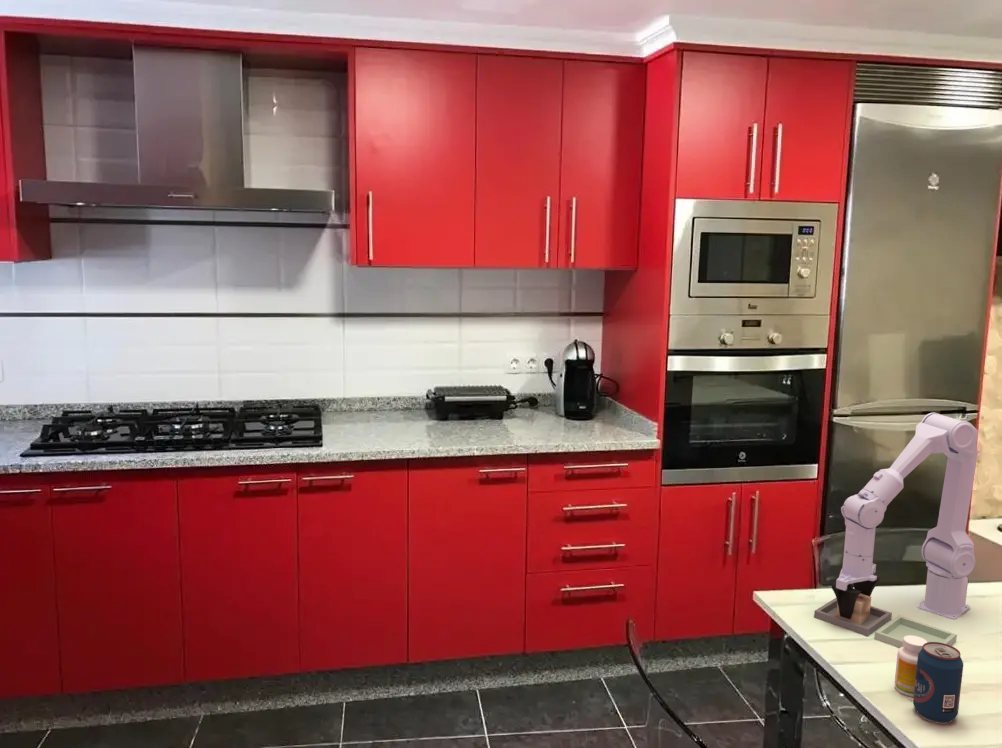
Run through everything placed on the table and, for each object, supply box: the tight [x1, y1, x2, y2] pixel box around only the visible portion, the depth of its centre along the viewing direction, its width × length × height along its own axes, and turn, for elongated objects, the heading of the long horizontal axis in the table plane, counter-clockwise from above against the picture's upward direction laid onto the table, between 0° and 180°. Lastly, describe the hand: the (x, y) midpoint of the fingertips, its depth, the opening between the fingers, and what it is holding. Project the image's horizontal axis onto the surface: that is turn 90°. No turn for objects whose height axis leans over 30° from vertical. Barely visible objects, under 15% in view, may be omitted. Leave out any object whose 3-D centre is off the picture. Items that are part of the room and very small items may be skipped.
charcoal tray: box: [813, 597, 893, 638], centre depth 181 cm, size 12×12×2 cm
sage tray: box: [873, 614, 958, 649], centre depth 172 cm, size 12×12×2 cm
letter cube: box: [836, 593, 872, 625], centre depth 180 cm, size 5×5×5 cm
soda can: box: [912, 642, 964, 724], centre depth 145 cm, size 7×7×12 cm
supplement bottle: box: [894, 635, 927, 698], centre depth 152 cm, size 5×5×10 cm
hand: (853, 612), depth 181 cm, fingers open, 7 cm apart
